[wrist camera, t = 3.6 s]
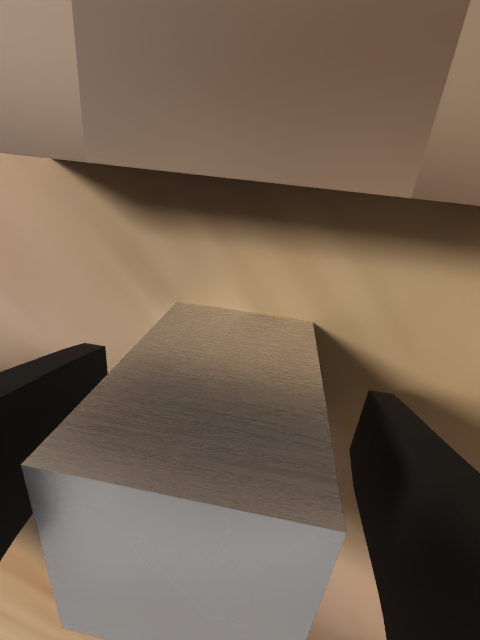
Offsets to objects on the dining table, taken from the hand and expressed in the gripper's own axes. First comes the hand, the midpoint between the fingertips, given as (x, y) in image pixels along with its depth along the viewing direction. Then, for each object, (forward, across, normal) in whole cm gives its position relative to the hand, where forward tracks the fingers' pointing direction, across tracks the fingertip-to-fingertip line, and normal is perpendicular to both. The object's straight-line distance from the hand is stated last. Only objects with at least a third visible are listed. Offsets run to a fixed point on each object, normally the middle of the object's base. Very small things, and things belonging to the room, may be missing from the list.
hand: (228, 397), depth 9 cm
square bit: (+2, 0, 0) cm, 2 cm away
